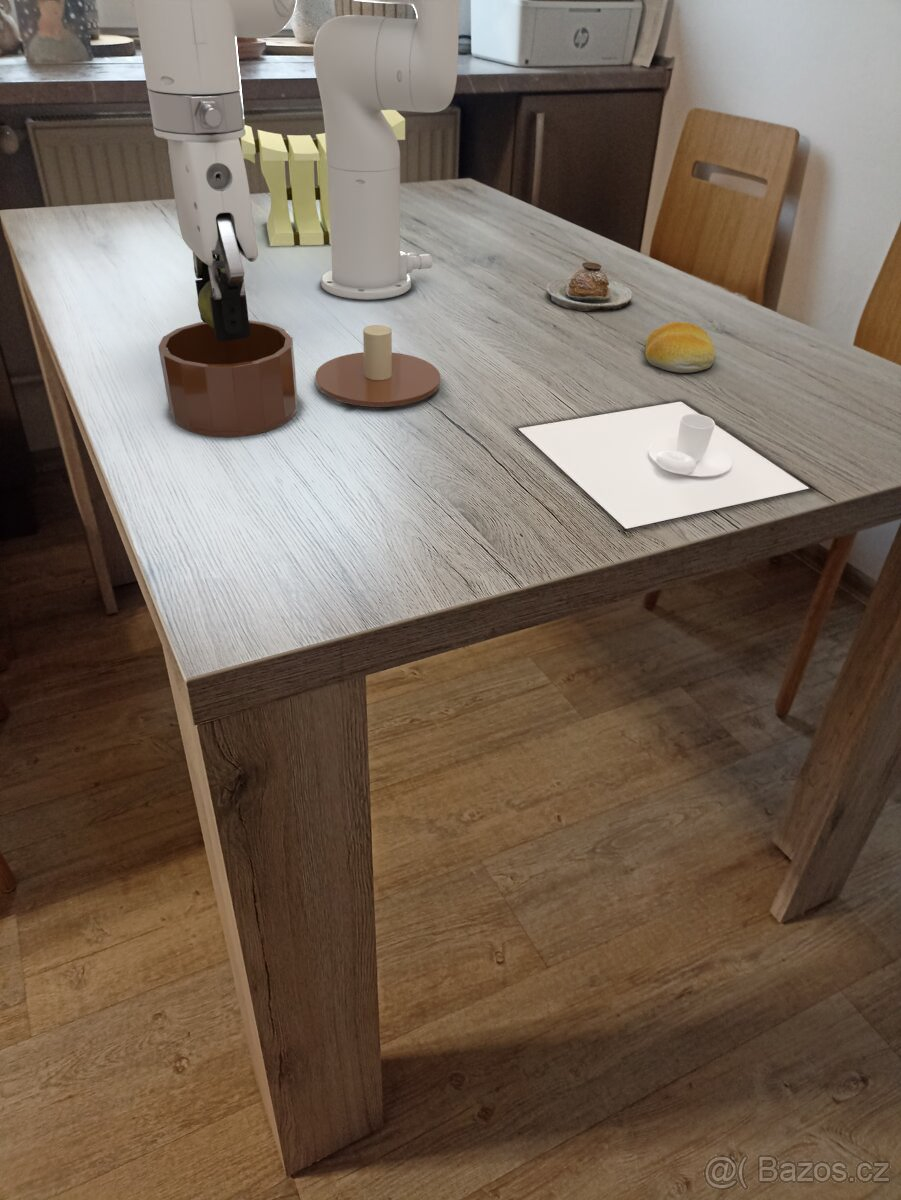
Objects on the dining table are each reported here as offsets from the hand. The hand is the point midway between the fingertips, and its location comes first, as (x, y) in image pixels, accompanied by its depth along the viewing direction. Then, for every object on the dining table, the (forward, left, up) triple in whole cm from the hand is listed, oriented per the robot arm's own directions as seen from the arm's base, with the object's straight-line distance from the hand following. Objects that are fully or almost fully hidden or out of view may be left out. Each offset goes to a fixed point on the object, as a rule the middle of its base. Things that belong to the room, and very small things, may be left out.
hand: (225, 327), depth 82 cm
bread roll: (-52, +7, -9) cm, 53 cm away
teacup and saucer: (-34, +26, -9) cm, 44 cm away
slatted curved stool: (-30, -62, -9) cm, 69 cm away
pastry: (-55, -16, -9) cm, 58 cm away
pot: (0, 0, -8) cm, 8 cm away
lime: (0, 0, -1) cm, 1 cm away
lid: (-16, 0, -8) cm, 18 cm away
